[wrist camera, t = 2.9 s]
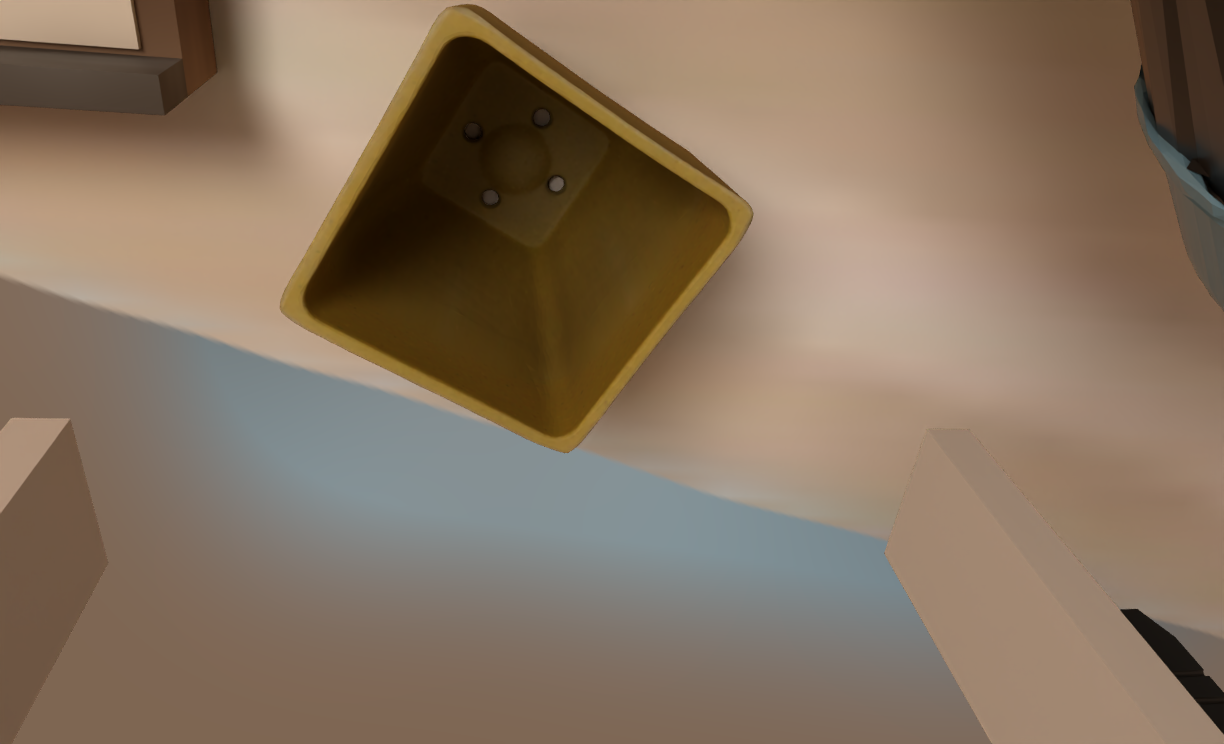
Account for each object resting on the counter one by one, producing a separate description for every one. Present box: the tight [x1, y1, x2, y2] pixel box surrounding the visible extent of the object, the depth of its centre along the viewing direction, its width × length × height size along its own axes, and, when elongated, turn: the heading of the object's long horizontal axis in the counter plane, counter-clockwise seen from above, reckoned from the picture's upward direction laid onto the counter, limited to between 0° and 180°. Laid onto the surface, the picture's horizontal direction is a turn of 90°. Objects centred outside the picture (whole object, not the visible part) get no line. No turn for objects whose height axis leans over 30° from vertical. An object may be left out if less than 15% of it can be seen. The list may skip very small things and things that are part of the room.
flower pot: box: [280, 4, 753, 453], centre depth 25 cm, size 9×9×9 cm
